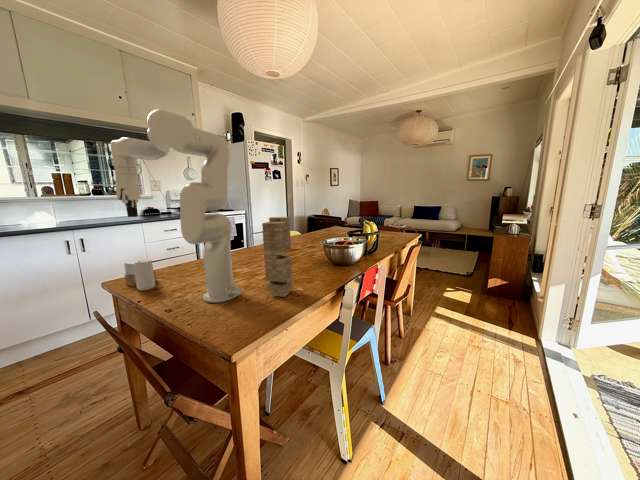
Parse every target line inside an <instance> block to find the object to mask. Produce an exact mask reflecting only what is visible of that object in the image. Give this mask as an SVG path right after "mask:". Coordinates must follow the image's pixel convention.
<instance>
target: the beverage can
mask: <svg viewBox="0 0 640 480" xmlns="http://www.w3.org/2000/svg"><path fill="white" fill-rule="evenodd" d="M137 260H138V261H135V260H134V261H135V262H134V263H135V264H134V272H135V278H136V285H137V286H136V288H137V290H139V291H141V292H145V291H149V290H152V289H154V287H155V286H156V281H155V279H154V272H153V270H154V266H153V262H151V261H152V260H151V259H149V258H145V259H144V260H139V259H137Z"/></svg>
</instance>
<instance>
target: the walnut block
mask: <svg viewBox="0 0 640 480" xmlns="http://www.w3.org/2000/svg"><path fill="white" fill-rule="evenodd" d="M153 272H154V279H155V282H156V281H157V275H156V273H157V272H156V270H155V269H153ZM124 280H125V285H126V286H132V287H137V285H136V278H135V275H128V274H126V273H124Z"/></svg>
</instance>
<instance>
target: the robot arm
mask: <svg viewBox="0 0 640 480" xmlns="http://www.w3.org/2000/svg"><path fill="white" fill-rule="evenodd" d="M146 124H147V127H148V129H147V134H146V135H147V138H148V140H143V139H139V138H132V137H121V138H119V139H113V140H111V141H110V148H111V157H112V162H113V168H114V175H115V178H114V179H115V180H114V182H115V183H114V185H115V193H116V199H117V200H119V201H121V203H123V204H124V205H125V208H126V212H127V213H126V214H127V217H128V218H136V217H139V213H138V208H137V207H138V203H139V200H141V199H140V198H141V191H140V185H139V184H140V183H139V181H138V178H137V177H139V174H138V173H139V172H138V167H137V166H138V165H137V160H145V161H146V160H147V161H156V160H160V159H162V158H164V157H167V156H168V154H169V152H170V149H172V150H174V151H176V152H178V153H181V154H184V155H185V154H186V155H191V156H196V157H197V156H199V157H203V158H205V160H204V162H203V164H202V167H201V171H200V173H201V176H200V177H201V180H200V182H196V181H195V182H194V181H193V182H189V183H187V184H186V185H184V186H183V187H182V189H181V191H180V194H179V195H180V196H179V208H180V209H179V210H180V211H179V212H180V213H179V214H180V215H179V216H180V220H179V221H180V231H181V235H182V237H183V239H184V240H185V242H187V243H189V244H191V245H200V244H203V243H205V244H204V246H203V250H202V251H203V253H202V254H203V264H204V265H203V266H204V273H205V274H204V275H205V282H206V283H205V284H206V292H205V293H204V294H203V296H202V298H203V300H204V301H205V302H207V303H223V302H226V301H231V300H232V299H235V298H236V297H237V296H240V295H241V294H242V291H243V289H242V287H237V284H236V283H235V282H234V275H233V264H232V251H231V237H232V222H231V221H230V218H229V217H228V216H226V215H224V214H222V213H216V212H215V213H206V212H210V211H218V210H219V211H220V210H222V209H224V208H225V207H226V206H227V203H228V196H229V195H228V192H229V191H228V190H229V189H228V186H229V184H228V183H229V182H228V181H229V177H228V174H229V171H228V170H229V162H230V149H229V146H228V144H227V143H226V141H225V140H224V138H222V137H220V136H219V135H217V134H215V133H213V132H210V131H206V130H203V129H198V128H195V126H194V124H193V123H192V121H191V120H190V119H189V118H187V117H186V116H183V115H180V114H177V113H174V112H170V111H168V110H165V109H160V108H159V109H154V110H152V111H151V112H150V113H149V114H148V116H147V119H146ZM136 159H137V160H136Z"/></svg>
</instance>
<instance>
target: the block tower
mask: <svg viewBox="0 0 640 480" xmlns="http://www.w3.org/2000/svg"><path fill="white" fill-rule="evenodd" d="M261 225H262V226H261V227H262V239H263V240H262V241H263V242H262V243H263V254H264V255H263V258H264V259H263V260H264V265H265V266H264V269H265V270H264V271H265V281H267V283H266V292H272V296H274V297H283V298H284V297H285V298H286V297H287V295H289V294H290V293H291V292H292V291H293V290H294V286H293V285H294V283H293V266H292V265H293V264H292V263H293V262H292V257H290V256H288V255H286V254H287V253H289V252H291V251H292V247H291V244H292V243H291V242H292V240H291V218H290V216H272V217H269V218H268V221H266V222H263V223H261Z"/></svg>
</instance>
